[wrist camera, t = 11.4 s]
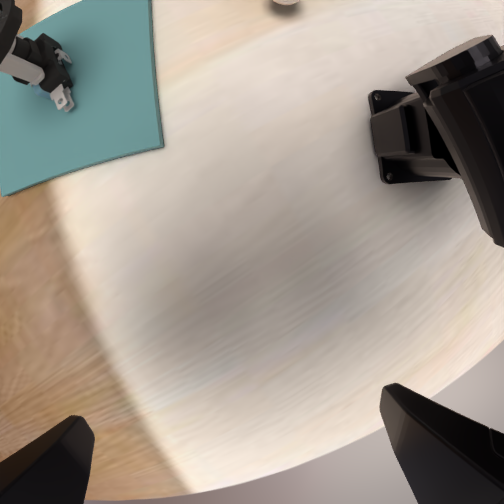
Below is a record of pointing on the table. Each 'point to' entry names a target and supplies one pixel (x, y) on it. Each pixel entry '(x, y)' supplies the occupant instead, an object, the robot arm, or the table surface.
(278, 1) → the grey slab pair
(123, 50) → the teal rubber mat
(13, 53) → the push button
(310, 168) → the table surface
